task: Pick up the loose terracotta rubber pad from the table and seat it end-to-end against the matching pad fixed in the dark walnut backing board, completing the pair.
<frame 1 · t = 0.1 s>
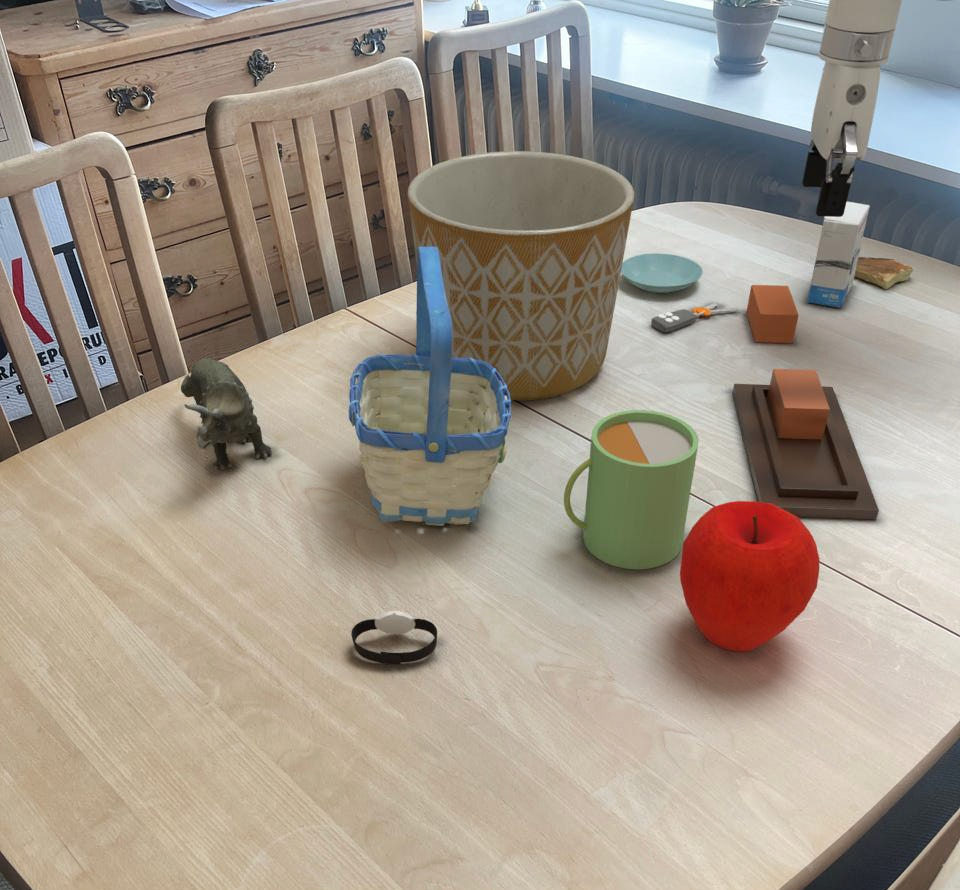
hand: (821, 200, 128), 18 cm above the table, tool pointing down, fingers open, 9 cm apart
toy dinosaur: (231, 447, 120), on the table
mug: (619, 540, 108), on the table
key chain: (693, 320, 144), on the table
saucer: (659, 285, 153), on the table
apple: (734, 636, 97), on the table
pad: (768, 327, 142), on the table
shard: (868, 279, 154), on the table
watch: (395, 651, 95), on the table
ink box: (828, 295, 150), on the table
planter: (516, 363, 135), on the table
backing board: (798, 450, 120), on the table
basket: (433, 489, 114), on the table
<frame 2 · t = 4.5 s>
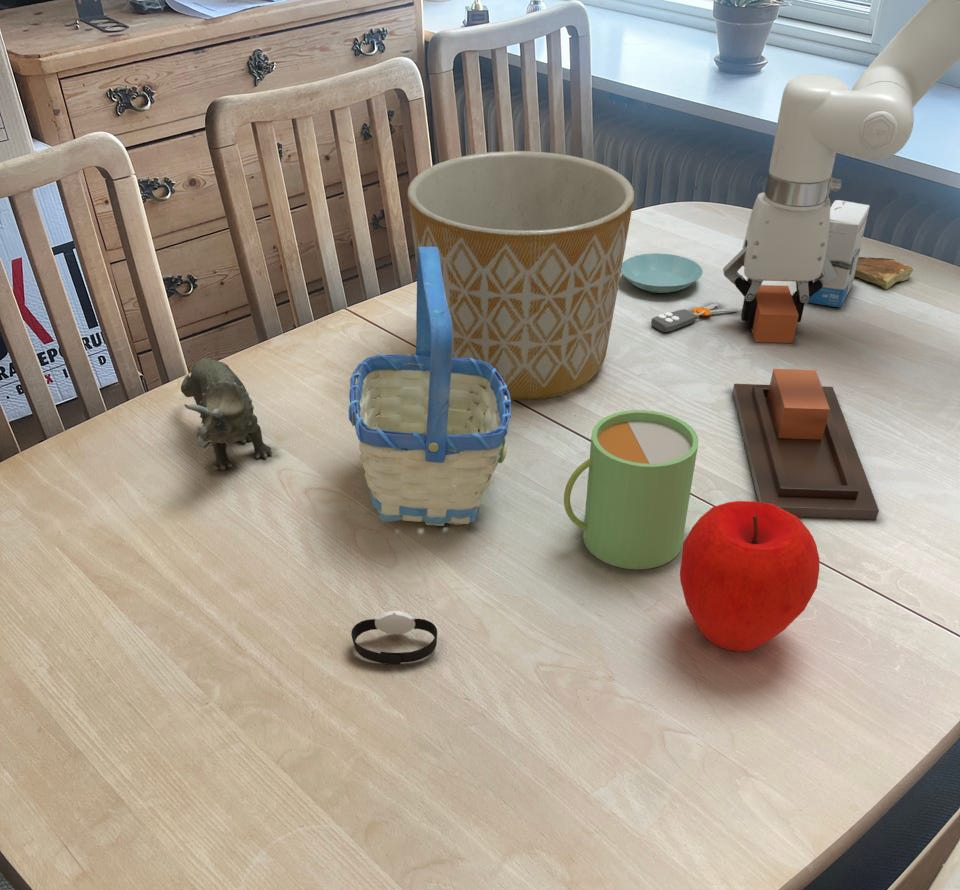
hand: (769, 324, 142), 0 cm above the table, tool pointing down, fingers closed on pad, 5 cm apart
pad: (768, 327, 142), on the table, touching gripper
everything else where it was.
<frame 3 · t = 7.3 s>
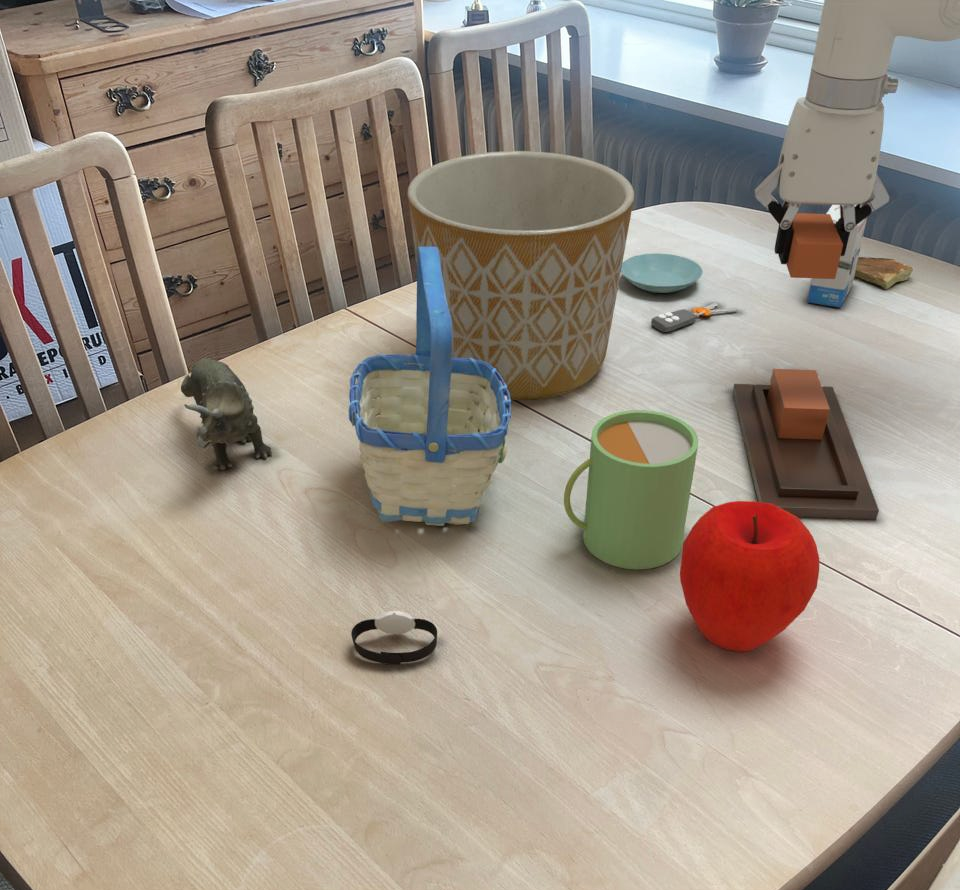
hand: (807, 258, 121), 15 cm above the table, tool pointing down, fingers closed on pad, 5 cm apart
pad: (806, 262, 122), point 15 cm above the table, touching gripper
everything else where it was.
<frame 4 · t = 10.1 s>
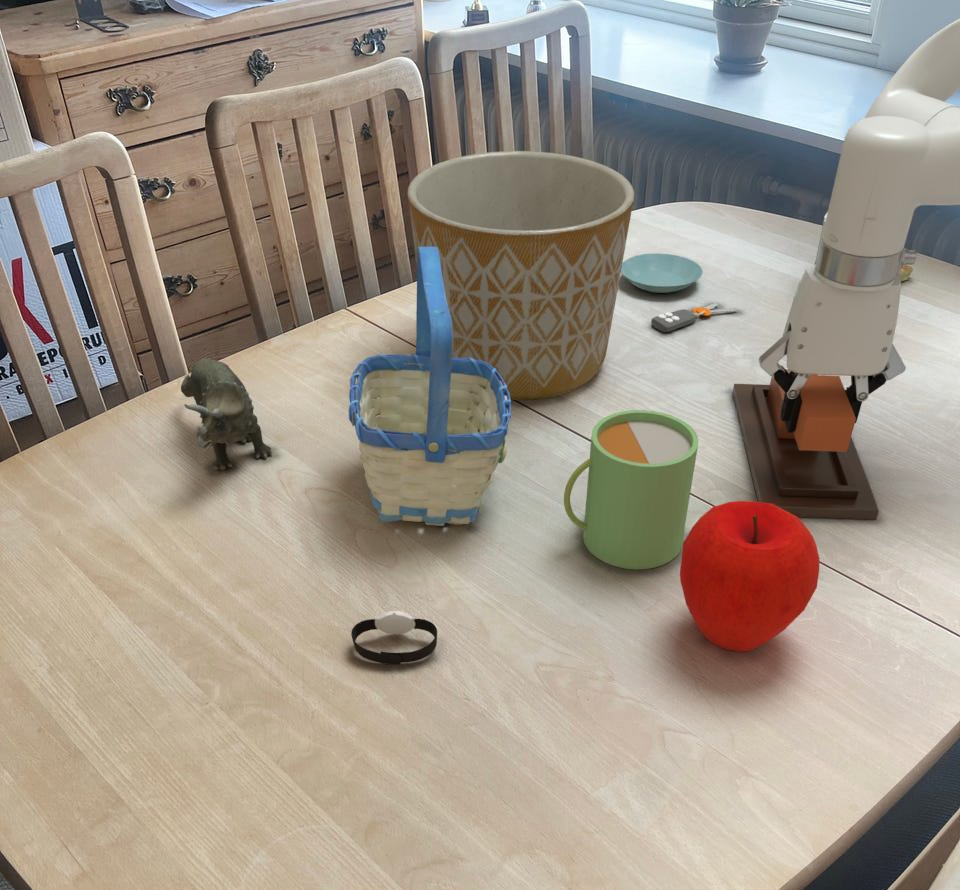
hand: (816, 425, 112), 6 cm above the table, tool pointing down, fingers closed on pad, 5 cm apart
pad: (815, 428, 113), point 6 cm above the table, touching gripper
everything else where it was.
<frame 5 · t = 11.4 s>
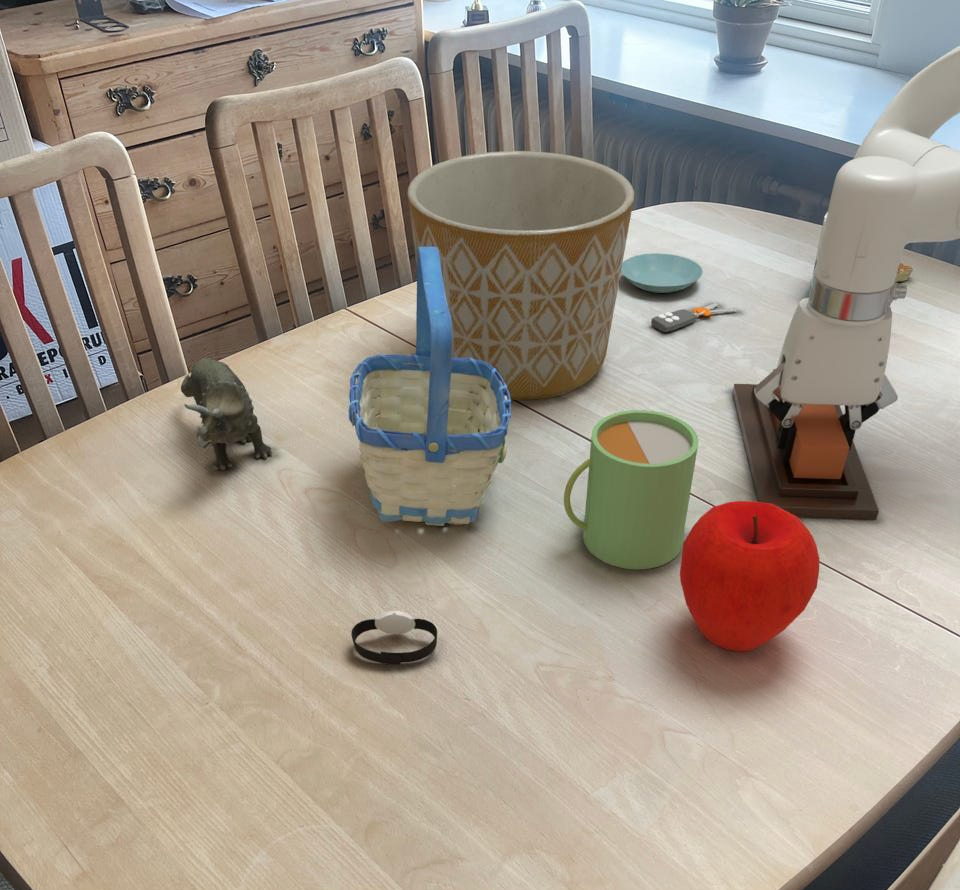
hand: (810, 452, 115), 3 cm above the table, tool pointing down, fingers closed on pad, 5 cm apart
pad: (810, 455, 115), point 2 cm above the table, touching gripper
everything else where it was.
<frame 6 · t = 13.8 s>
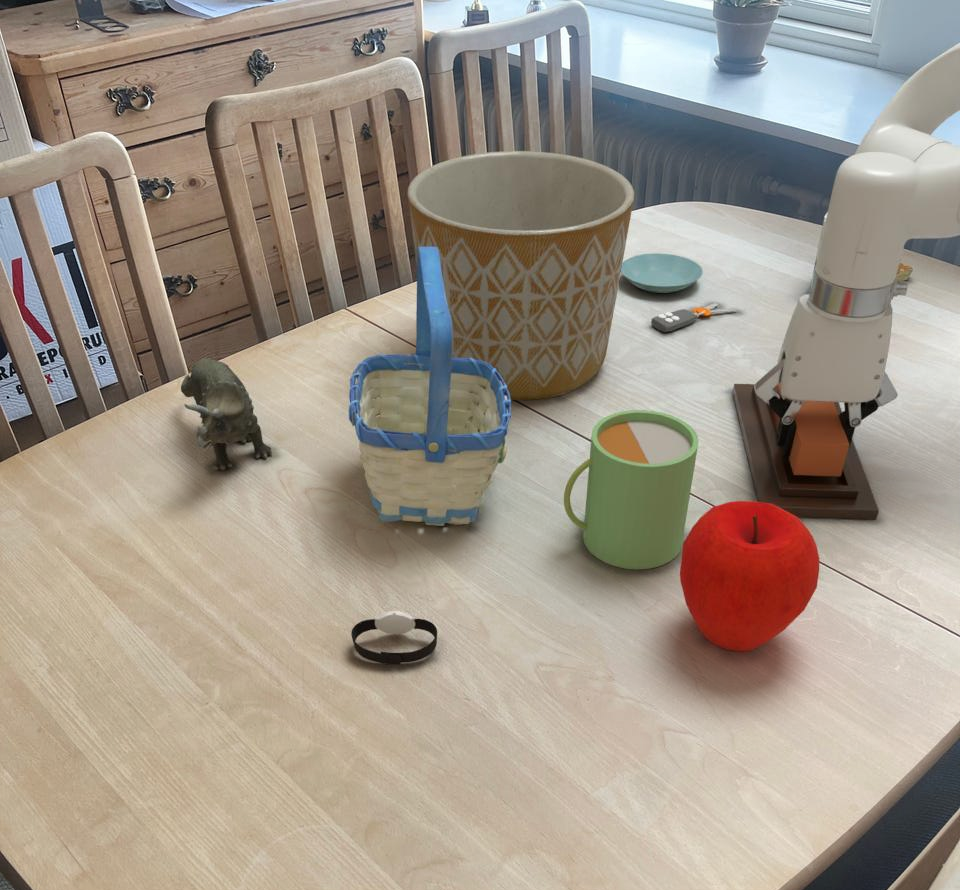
hand: (810, 449, 114), 3 cm above the table, tool pointing down, fingers closed on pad, 5 cm apart
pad: (809, 453, 115), point 2 cm above the table, touching gripper
everything else where it was.
when the fingers open (3 cm above the table, at t = 15.8 s): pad stays where it is, resting on backing board.
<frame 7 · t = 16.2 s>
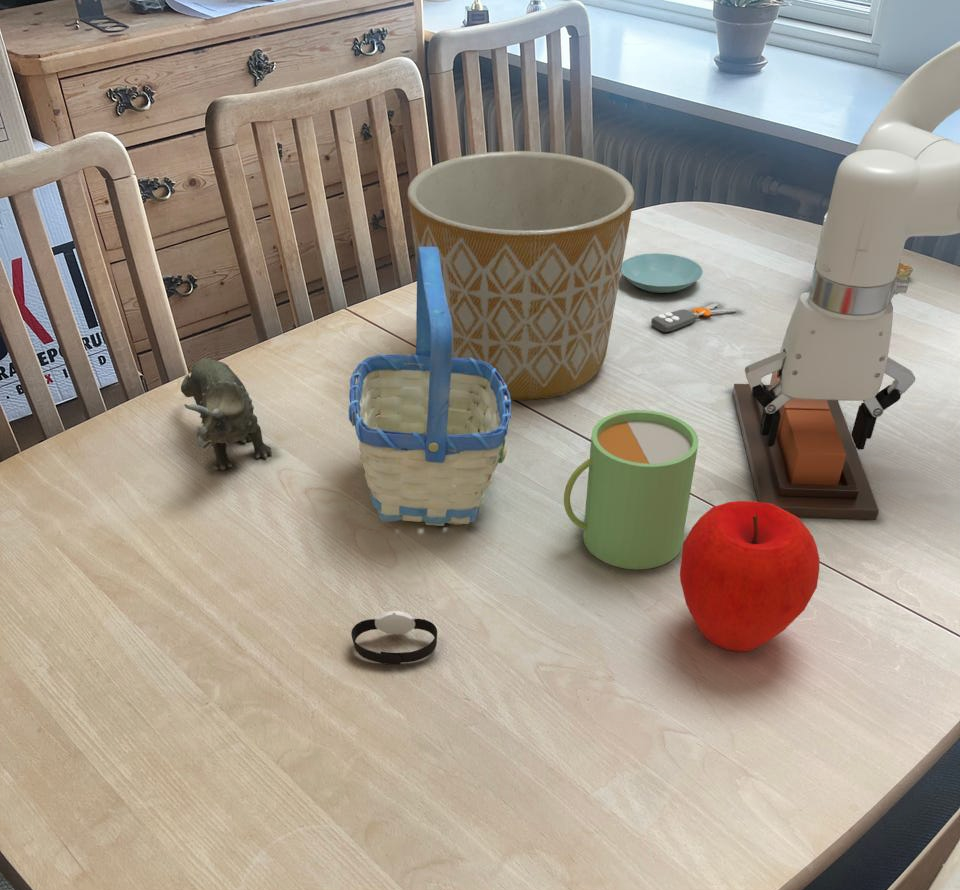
hand: (812, 441, 114), 4 cm above the table, tool pointing down, fingers open, 9 cm apart
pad: (807, 462, 116), point 1 cm above the table, touching backing board
everything else where it was.
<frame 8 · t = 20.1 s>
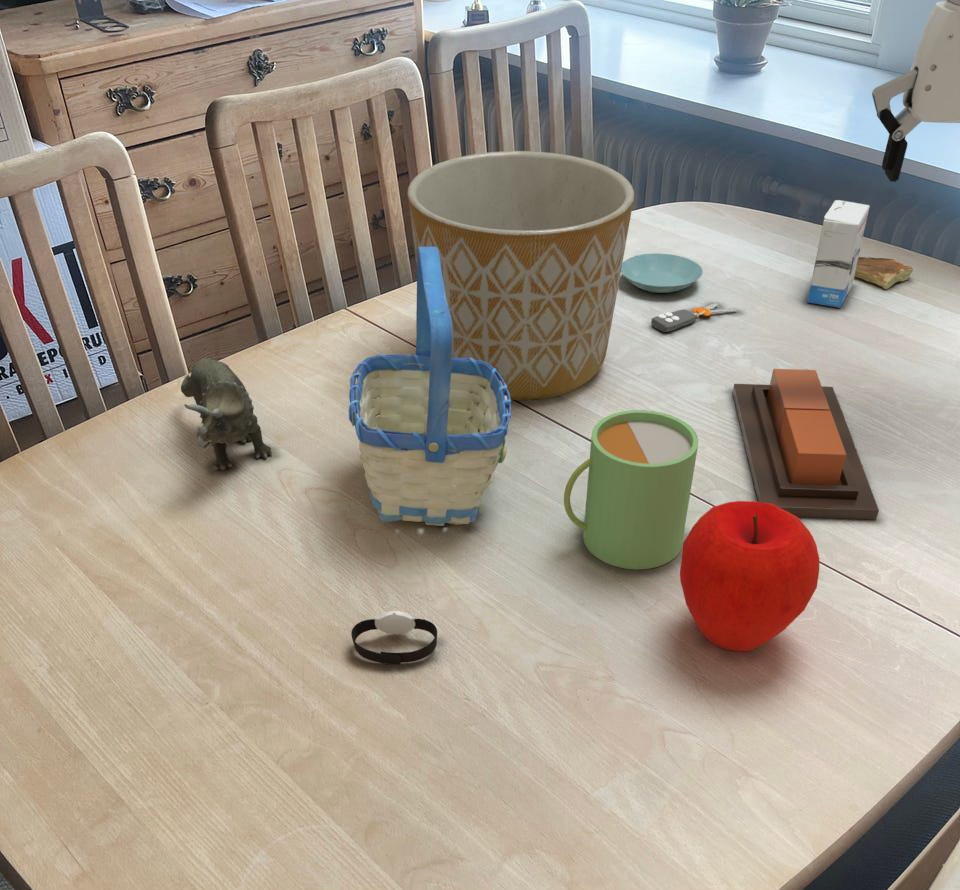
hand: (937, 178, 110), 26 cm above the table, tool pointing down, fingers open, 9 cm apart
nothing on the table moved.
at the end: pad 0.5 cm from the target spot on the backing board, point 1.2 cm above the backing board's base; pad tilted 0° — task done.
